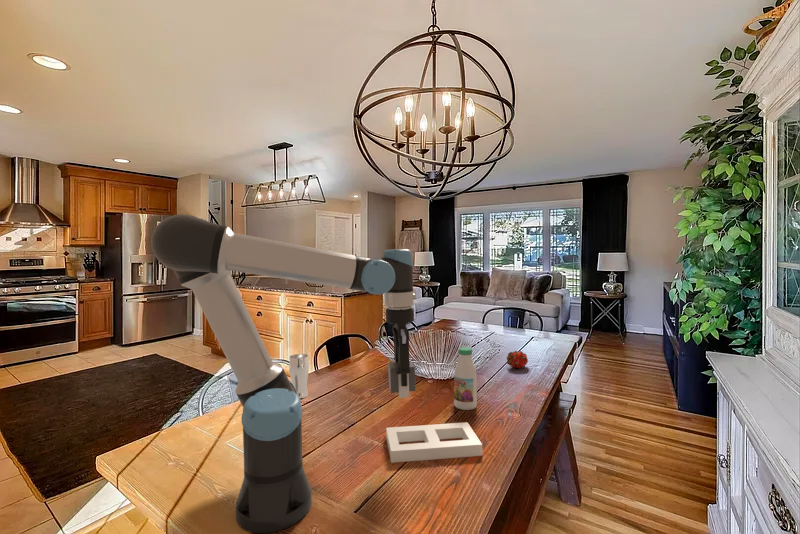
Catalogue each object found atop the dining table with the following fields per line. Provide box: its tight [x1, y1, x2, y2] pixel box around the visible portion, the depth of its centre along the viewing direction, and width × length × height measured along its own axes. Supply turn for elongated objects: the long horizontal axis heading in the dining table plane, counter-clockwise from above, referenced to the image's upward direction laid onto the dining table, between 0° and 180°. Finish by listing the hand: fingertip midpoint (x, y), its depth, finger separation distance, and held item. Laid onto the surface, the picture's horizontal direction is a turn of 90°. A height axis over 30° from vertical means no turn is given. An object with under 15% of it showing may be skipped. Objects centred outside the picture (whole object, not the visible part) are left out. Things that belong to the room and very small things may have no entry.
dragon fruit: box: [506, 350, 529, 370], centre depth 174 cm, size 8×8×12 cm
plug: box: [387, 360, 416, 396], centre depth 103 cm, size 5×6×8 cm
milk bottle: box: [453, 346, 478, 411], centre depth 132 cm, size 8×8×20 cm
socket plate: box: [385, 421, 483, 463], centre depth 106 cm, size 13×24×3 cm, turn 97°
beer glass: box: [288, 353, 310, 400], centre depth 143 cm, size 7×7×15 cm
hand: (402, 392), depth 104 cm, fingers closed on plug, 5 cm apart
